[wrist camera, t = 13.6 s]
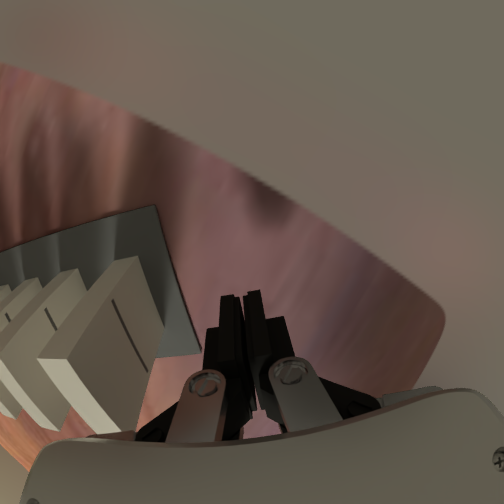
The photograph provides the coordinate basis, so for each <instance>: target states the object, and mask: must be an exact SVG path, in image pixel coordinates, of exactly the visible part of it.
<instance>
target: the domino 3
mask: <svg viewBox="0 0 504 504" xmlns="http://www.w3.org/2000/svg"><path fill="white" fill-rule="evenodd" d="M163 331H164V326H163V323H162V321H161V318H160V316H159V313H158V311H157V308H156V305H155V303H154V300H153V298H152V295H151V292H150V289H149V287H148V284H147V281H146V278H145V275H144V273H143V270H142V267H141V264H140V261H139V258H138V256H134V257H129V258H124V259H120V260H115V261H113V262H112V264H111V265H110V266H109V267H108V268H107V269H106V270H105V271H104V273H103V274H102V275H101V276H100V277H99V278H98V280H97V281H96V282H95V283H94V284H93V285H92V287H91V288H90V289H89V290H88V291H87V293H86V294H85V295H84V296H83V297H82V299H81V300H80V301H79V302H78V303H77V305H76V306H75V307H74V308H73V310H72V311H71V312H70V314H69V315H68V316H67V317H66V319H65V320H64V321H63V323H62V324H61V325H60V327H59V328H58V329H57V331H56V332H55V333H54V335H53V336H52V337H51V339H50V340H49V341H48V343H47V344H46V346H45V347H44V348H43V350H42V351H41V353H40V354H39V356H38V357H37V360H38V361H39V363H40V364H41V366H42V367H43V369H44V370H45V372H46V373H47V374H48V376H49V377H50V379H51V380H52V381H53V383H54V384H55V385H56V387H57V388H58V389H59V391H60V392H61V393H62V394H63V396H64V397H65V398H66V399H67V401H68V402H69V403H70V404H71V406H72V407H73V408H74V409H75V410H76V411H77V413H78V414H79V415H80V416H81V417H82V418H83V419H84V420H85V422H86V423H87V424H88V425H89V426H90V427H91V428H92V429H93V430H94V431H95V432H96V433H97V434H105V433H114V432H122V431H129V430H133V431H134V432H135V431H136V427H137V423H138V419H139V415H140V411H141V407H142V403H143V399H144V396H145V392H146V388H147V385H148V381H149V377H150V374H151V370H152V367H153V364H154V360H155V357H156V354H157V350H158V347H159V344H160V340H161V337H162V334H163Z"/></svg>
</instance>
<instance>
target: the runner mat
mask: <svg viewBox="0 0 504 504" xmlns="http://www.w3.org/2000/svg"><path fill="white" fill-rule="evenodd" d="M134 256H138V258H139V261H140V264H141V267H142V270H143V273H144V275H145V278H146V281H147V284H148V287H149V289H150V292H151V295H152V298H153V300H154V303H155V305H156V308H157V311H158V313H159V316H160V318H161V321H162V323H163V326H164V331H163V334H162V337H161V340H160V344H159V347H158V350H157V354H156V357H155V358H161V357H172V356H182V355H192V354H200V353H201V349H200V346H199V343H198V341H197V338H196V335H195V333H194V330H193V327H192V324H191V321H190V319H189V316H188V313H187V310H186V307H185V304H184V301H183V298H182V295H181V292H180V289H179V286H178V283H177V280H176V277H175V273H174V270H173V267H172V264H171V260H170V257H169V253H168V250H167V247H166V243H165V240H164V236H163V232H162V229H161V225H160V221H159V217H158V214H157V210H156V206H155V205H151V206H147V207H143V208H139V209H135V210H132V211H128V212H124V213H120V214H117V215H113V216H109V217H106V218H102V219H99V220H95V221H92V222H88V223H85V224H82V225H78V226H75V227H72V228H69V229H66V230H62V231H59V232H56V233H53V234H50V235H47V236H44V237H41V238H38V239H35V240H33V241H30V242H27V243H24V244H21V245H19V246H16V247H13V248H11V249H8V250H5V251H3V252H0V286H2V285H7V284H8V285H9V287H10V289H11V291H13V290H14V289H15V288H16V287H18V286H19V285H20V284H21V283H22V282H23V281H25V280H28V279H32V278H36V277H38V279H39V281H40V284H41V286H42V288H44V287H45V286H46V285H47V284H48V283H49V282H50V281H51V280H52V279H53V278H54V277H56V276H57V275H58V274H59V273H60V272H63V271H68V270H72V269H76V268H78V270H79V273H80V275H81V278H82V280H83V282H84V285H85V287H86V290H87V291H88V290H89V289H90V288H91V287H92V285H93V284H94V283H95V282H96V281H97V280H98V278H99V277H100V276H101V275H102V274H103V273H104V271H105V270H106V269H107V268H108V267H109V266H110V265H111V264H112V262H113V261H115V260H120V259H124V258H129V257H134Z"/></svg>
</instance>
